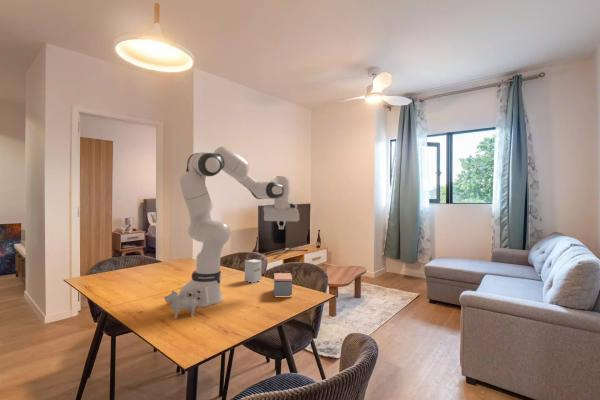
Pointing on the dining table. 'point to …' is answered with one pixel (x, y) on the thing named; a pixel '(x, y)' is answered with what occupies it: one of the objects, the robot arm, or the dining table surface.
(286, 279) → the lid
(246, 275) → the white cylinder
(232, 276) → the dining table surface
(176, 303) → the grey dog figurine
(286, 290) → the box
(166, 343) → the dining table surface
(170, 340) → the dining table surface
